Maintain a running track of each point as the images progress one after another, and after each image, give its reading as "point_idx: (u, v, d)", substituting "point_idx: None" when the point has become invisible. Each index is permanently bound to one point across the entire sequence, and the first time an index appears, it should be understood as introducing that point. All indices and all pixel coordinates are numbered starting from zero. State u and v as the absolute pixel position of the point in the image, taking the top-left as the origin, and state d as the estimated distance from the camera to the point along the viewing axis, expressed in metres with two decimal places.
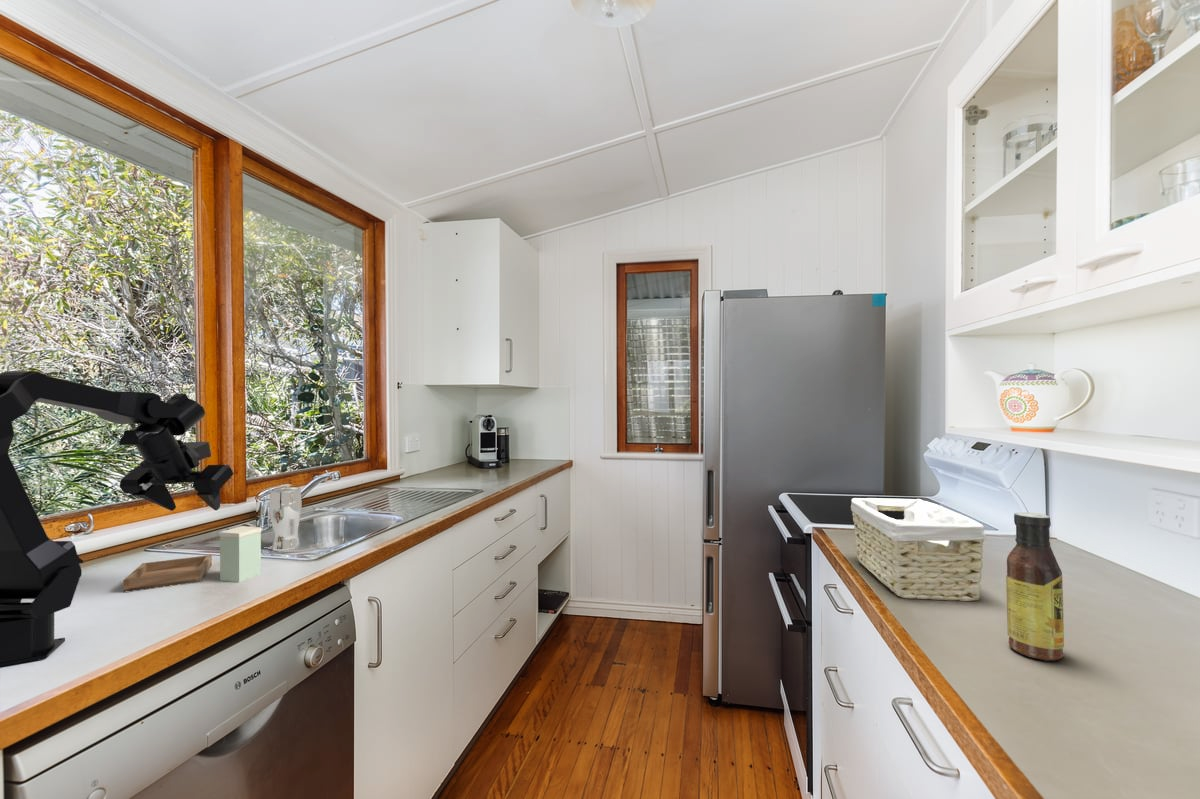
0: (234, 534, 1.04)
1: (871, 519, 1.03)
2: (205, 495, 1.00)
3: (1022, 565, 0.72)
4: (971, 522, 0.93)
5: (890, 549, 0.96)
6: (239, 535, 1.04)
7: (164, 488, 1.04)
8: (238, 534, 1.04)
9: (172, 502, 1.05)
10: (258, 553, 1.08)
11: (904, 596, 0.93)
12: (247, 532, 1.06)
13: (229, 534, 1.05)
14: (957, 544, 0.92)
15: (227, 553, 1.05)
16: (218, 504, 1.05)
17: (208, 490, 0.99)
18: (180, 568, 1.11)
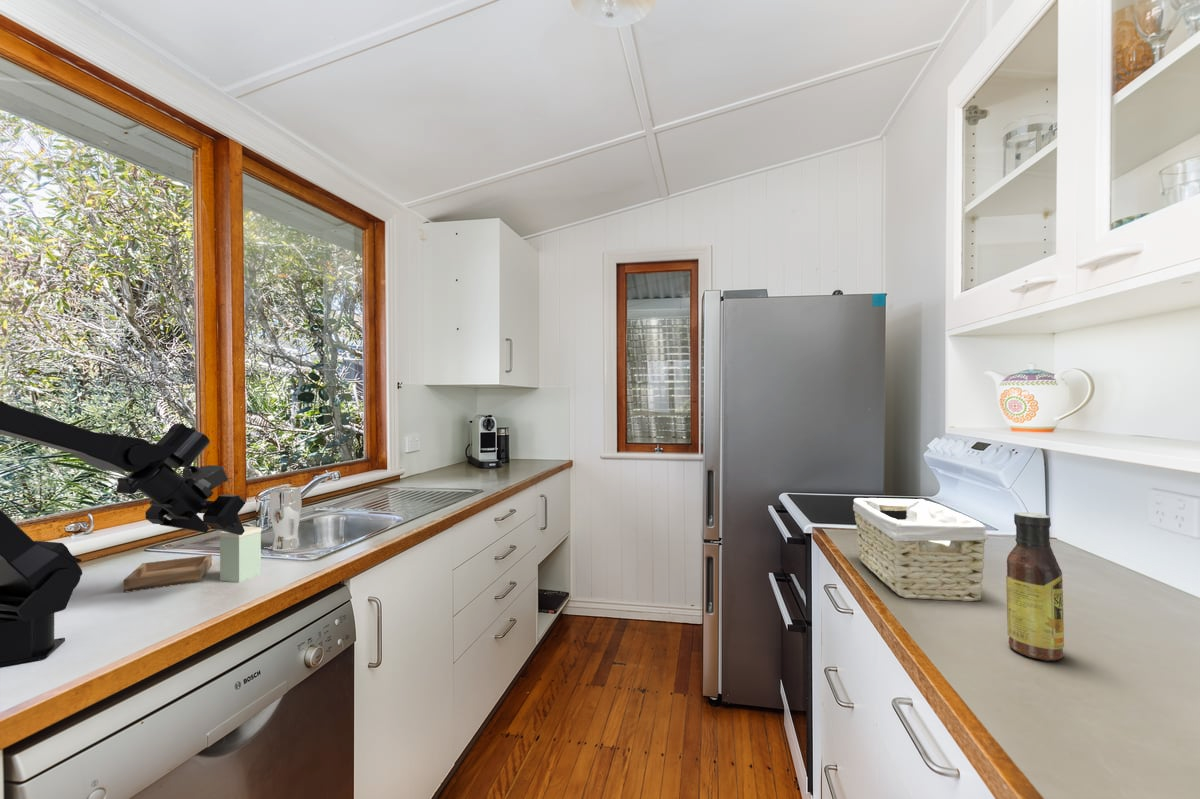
0: (234, 534, 1.04)
1: (872, 519, 1.03)
2: (218, 529, 0.96)
3: (1023, 565, 0.72)
4: (973, 522, 0.93)
5: (891, 549, 0.96)
6: (239, 535, 1.04)
7: None
8: None
9: (203, 525, 1.04)
10: (258, 553, 1.08)
11: (905, 596, 0.93)
12: (247, 532, 1.06)
13: (229, 534, 1.05)
14: (959, 544, 0.92)
15: (227, 553, 1.05)
16: (241, 529, 1.02)
17: (218, 526, 0.94)
18: (180, 568, 1.11)
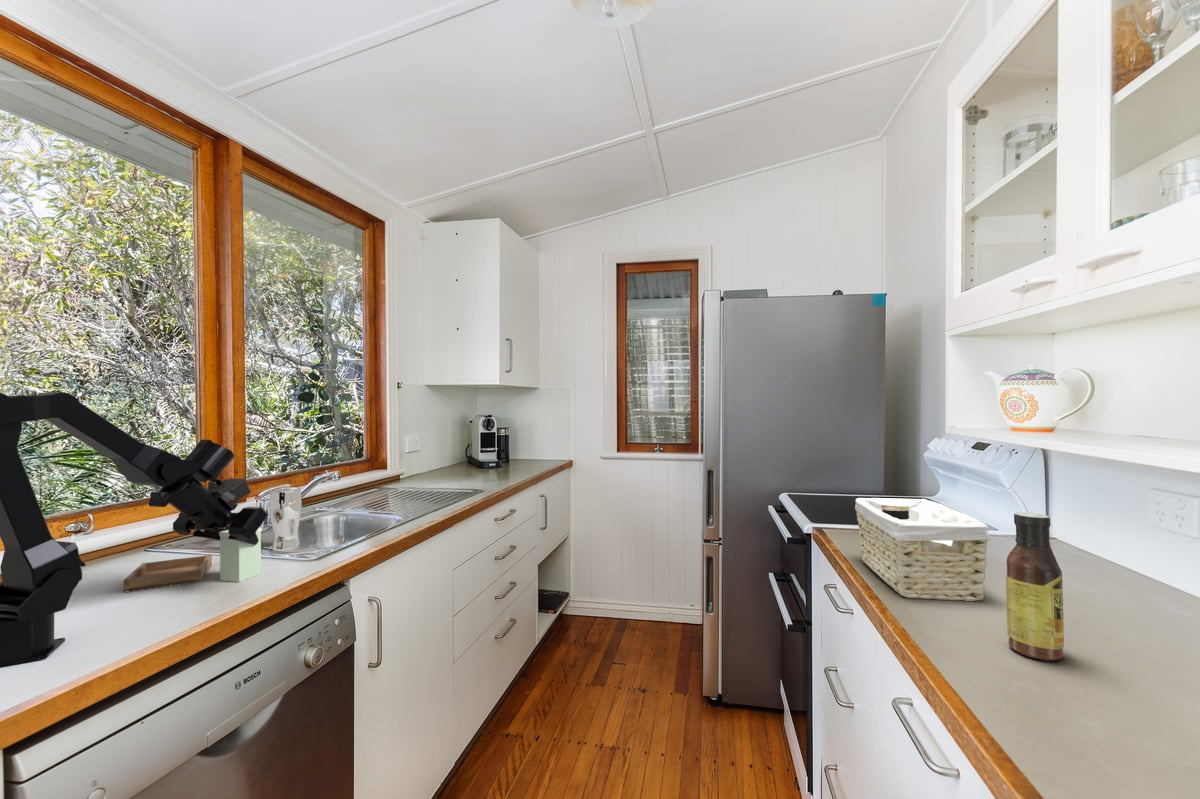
0: None
1: (874, 519, 1.03)
2: (235, 539, 1.01)
3: (1022, 565, 0.72)
4: (975, 522, 0.93)
5: (893, 549, 0.96)
6: None
7: None
8: None
9: None
10: (258, 553, 1.08)
11: (907, 596, 0.93)
12: None
13: (229, 534, 1.05)
14: (961, 544, 0.92)
15: (227, 553, 1.05)
16: (255, 539, 1.07)
17: (243, 537, 0.99)
18: (180, 568, 1.11)
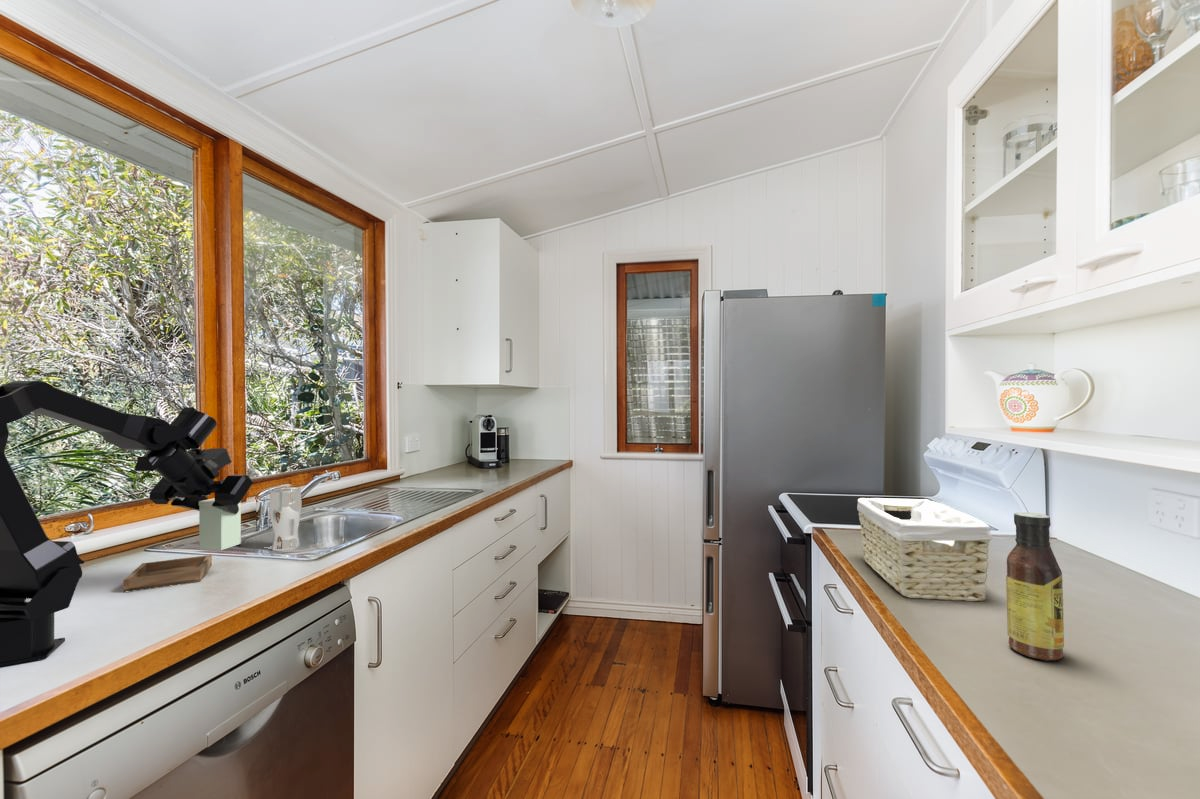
0: None
1: (876, 519, 1.03)
2: (220, 506, 1.02)
3: (1022, 565, 0.72)
4: (977, 522, 0.93)
5: (895, 549, 0.96)
6: None
7: None
8: None
9: None
10: (238, 522, 1.10)
11: (909, 596, 0.93)
12: None
13: (210, 503, 1.05)
14: (963, 544, 0.92)
15: (208, 522, 1.05)
16: (236, 508, 1.08)
17: (230, 503, 1.01)
18: (180, 568, 1.11)
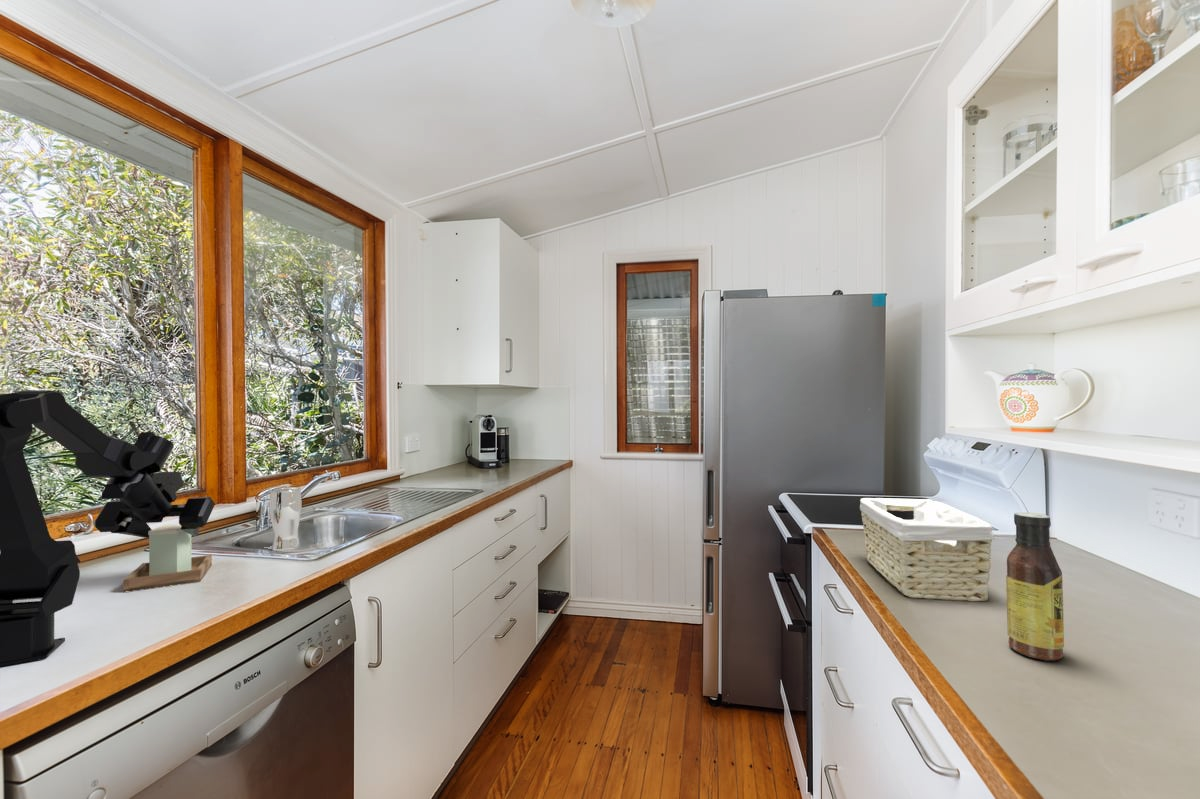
0: (170, 531, 1.05)
1: (878, 519, 1.03)
2: (189, 529, 1.03)
3: (1022, 565, 0.72)
4: (979, 522, 0.93)
5: (897, 549, 0.96)
6: (177, 531, 1.05)
7: None
8: (176, 530, 1.05)
9: None
10: (189, 549, 1.09)
11: (911, 595, 0.93)
12: None
13: (163, 532, 1.05)
14: (965, 544, 0.92)
15: (160, 551, 1.04)
16: (198, 531, 1.09)
17: (195, 525, 1.02)
18: None
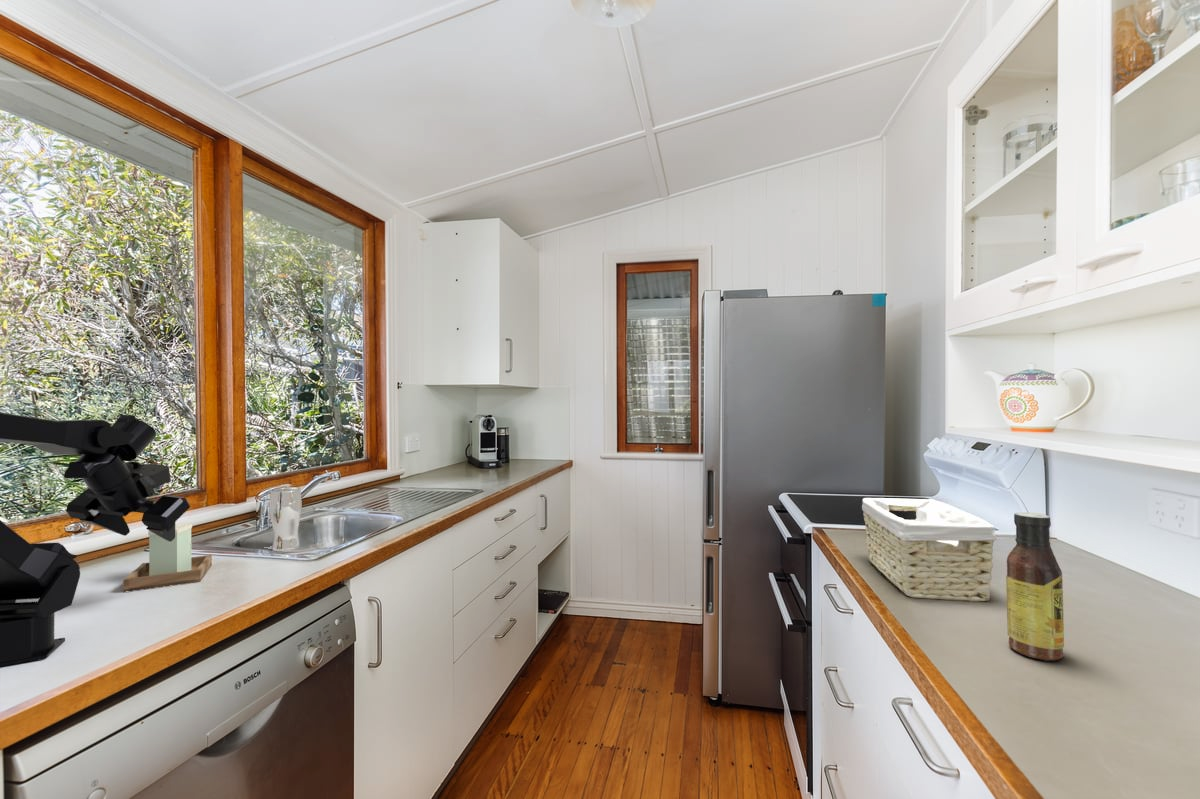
0: None
1: (880, 519, 1.03)
2: (155, 530, 0.92)
3: (1022, 565, 0.72)
4: (981, 522, 0.93)
5: (899, 549, 0.96)
6: (177, 531, 1.05)
7: None
8: (176, 530, 1.05)
9: (125, 527, 0.98)
10: (189, 549, 1.09)
11: (913, 595, 0.93)
12: (182, 528, 1.07)
13: None
14: (967, 544, 0.92)
15: (160, 551, 1.04)
16: (172, 536, 0.97)
17: (158, 527, 0.91)
18: None
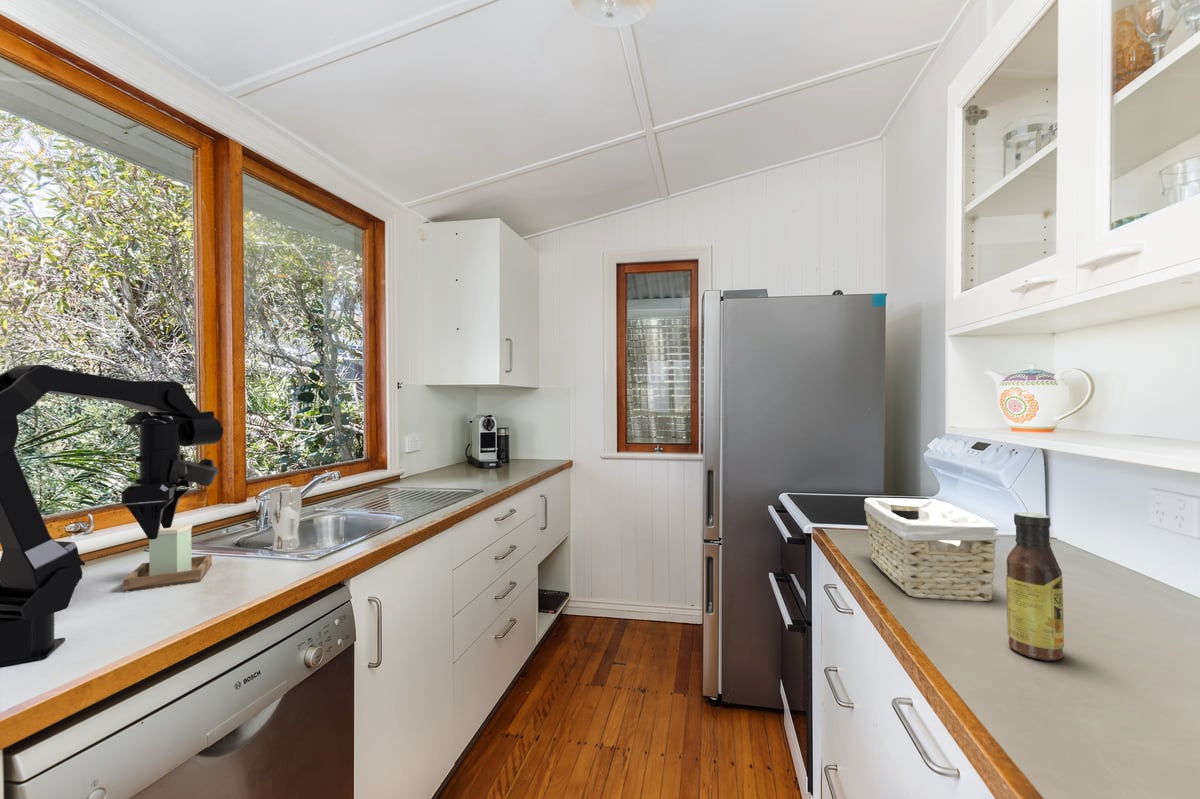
0: (170, 531, 1.05)
1: (882, 519, 1.03)
2: None
3: (1022, 565, 0.72)
4: (984, 522, 0.93)
5: (901, 548, 0.96)
6: (177, 531, 1.05)
7: (173, 501, 0.98)
8: (176, 530, 1.05)
9: (169, 519, 0.97)
10: (189, 549, 1.09)
11: (915, 595, 0.93)
12: (182, 528, 1.07)
13: (163, 532, 1.05)
14: (969, 544, 0.92)
15: (160, 551, 1.04)
16: (152, 533, 0.89)
17: None
18: None
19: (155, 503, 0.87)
